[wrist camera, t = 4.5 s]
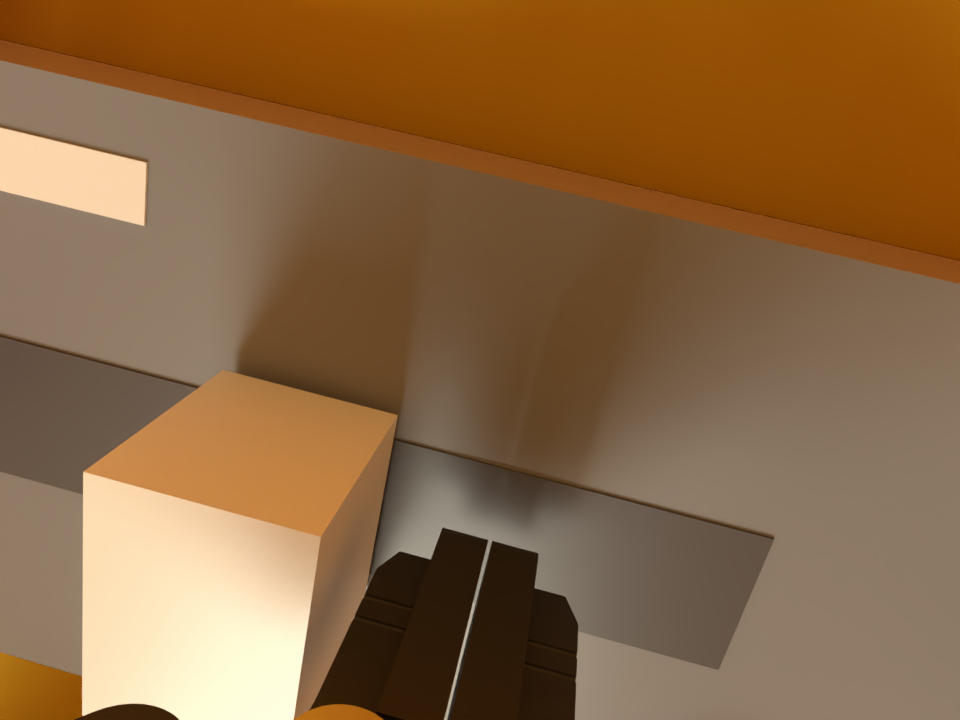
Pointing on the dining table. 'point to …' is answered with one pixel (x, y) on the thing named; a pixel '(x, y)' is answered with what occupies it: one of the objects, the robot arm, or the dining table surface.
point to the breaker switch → (230, 550)
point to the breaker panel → (499, 383)
